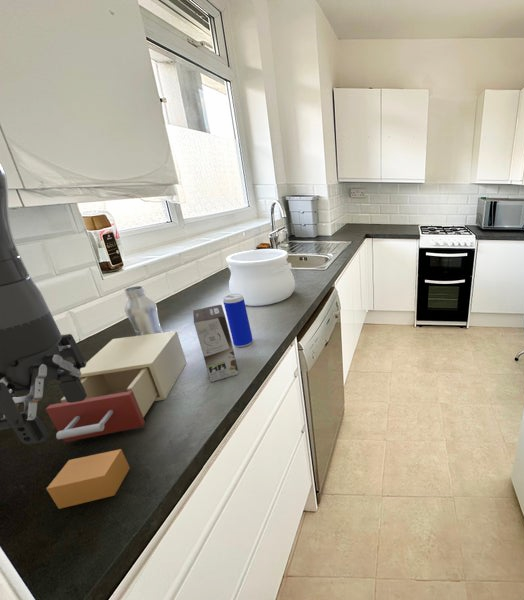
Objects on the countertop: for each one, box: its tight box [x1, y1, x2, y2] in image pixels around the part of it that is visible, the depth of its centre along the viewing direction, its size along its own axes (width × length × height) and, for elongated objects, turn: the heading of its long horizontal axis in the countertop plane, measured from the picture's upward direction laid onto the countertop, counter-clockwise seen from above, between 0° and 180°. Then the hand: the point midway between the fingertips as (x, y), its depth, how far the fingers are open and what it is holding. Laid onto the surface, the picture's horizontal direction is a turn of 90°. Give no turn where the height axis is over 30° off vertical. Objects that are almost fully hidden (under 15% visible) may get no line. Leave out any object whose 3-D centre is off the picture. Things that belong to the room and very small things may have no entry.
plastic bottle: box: [124, 285, 164, 336], centre depth 83 cm, size 6×7×20 cm
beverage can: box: [223, 293, 254, 348], centre depth 90 cm, size 5×5×15 cm
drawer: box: [45, 367, 159, 443], centre depth 62 cm, size 19×12×8 cm, turn 17°
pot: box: [225, 248, 296, 307], centre depth 125 cm, size 26×24×18 cm
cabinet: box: [79, 330, 187, 402], centre depth 73 cm, size 16×14×10 cm
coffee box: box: [192, 304, 239, 383], centre depth 77 cm, size 9×6×16 cm
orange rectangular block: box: [46, 448, 131, 510], centre depth 49 cm, size 7×5×4 cm
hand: (60, 419), depth 45 cm, fingers open, 8 cm apart
